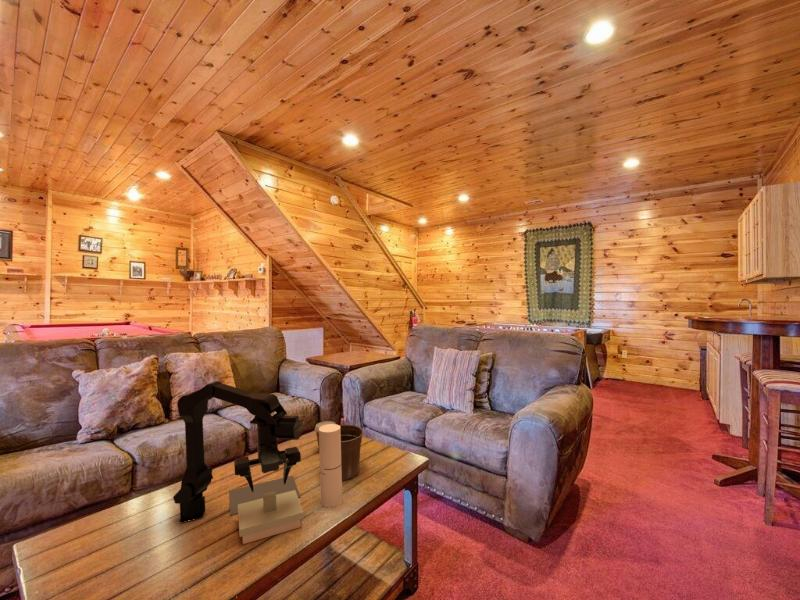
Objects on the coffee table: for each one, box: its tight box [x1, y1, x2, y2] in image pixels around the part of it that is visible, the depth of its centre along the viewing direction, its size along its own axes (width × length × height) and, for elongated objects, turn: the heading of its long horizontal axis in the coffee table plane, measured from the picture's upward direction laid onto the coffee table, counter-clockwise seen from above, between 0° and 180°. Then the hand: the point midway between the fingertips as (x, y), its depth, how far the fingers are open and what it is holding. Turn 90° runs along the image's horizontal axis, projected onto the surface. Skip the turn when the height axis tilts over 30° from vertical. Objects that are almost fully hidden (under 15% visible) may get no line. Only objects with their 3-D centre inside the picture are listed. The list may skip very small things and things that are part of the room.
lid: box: [237, 490, 304, 538], centre depth 112 cm, size 18×14×6 cm
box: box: [242, 520, 302, 545], centre depth 112 cm, size 16×12×4 cm
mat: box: [229, 475, 301, 517], centre depth 129 cm, size 22×16×1 cm
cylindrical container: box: [318, 424, 343, 508], centre depth 123 cm, size 7×7×25 cm
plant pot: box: [338, 424, 364, 482], centre depth 142 cm, size 16×16×16 cm
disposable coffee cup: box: [314, 420, 336, 448], centre depth 161 cm, size 10×10×12 cm
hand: (268, 487), depth 112 cm, fingers open, 9 cm apart
